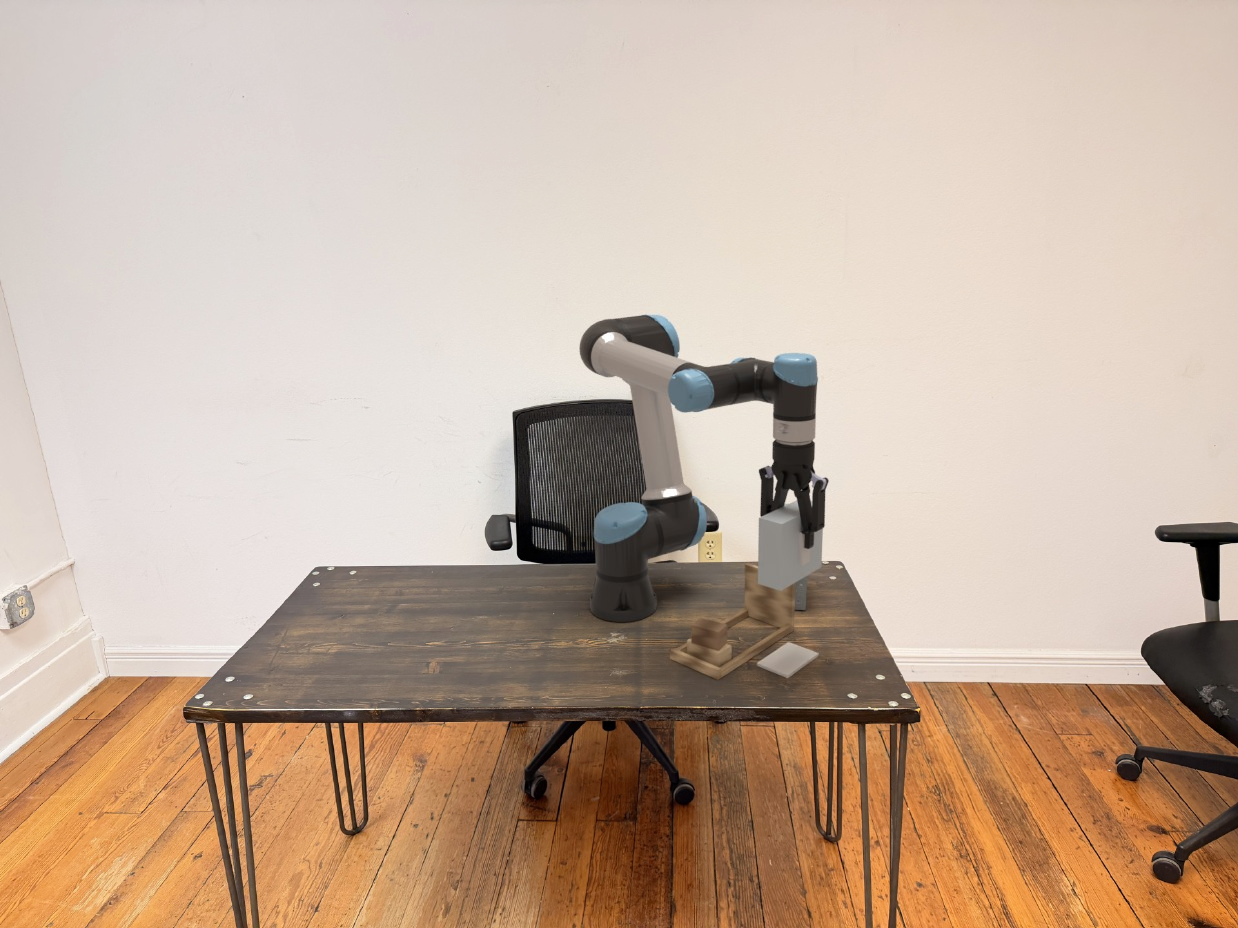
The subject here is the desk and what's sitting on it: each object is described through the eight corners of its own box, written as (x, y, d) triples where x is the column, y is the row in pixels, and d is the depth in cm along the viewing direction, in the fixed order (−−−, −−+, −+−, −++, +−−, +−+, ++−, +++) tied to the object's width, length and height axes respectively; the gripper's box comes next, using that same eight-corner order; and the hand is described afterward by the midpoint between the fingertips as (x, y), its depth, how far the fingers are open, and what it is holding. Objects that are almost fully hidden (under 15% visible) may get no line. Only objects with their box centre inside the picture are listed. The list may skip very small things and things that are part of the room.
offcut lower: (687, 658, 163) (686, 640, 162) (699, 650, 166) (699, 632, 165) (719, 672, 158) (719, 653, 157) (731, 664, 161) (731, 645, 159)
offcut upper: (691, 643, 161) (691, 624, 160) (700, 635, 164) (700, 617, 163) (718, 650, 158) (718, 632, 157) (727, 642, 161) (727, 624, 159)
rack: (670, 658, 163) (669, 603, 160) (747, 613, 181) (747, 562, 177) (718, 679, 155) (718, 622, 151) (793, 629, 172) (795, 577, 169)
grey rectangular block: (757, 583, 152) (758, 517, 149) (799, 560, 162) (800, 498, 158) (780, 590, 149) (782, 523, 145) (821, 567, 158) (823, 503, 155)
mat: (756, 665, 159) (756, 662, 159) (788, 644, 167) (788, 641, 167) (787, 678, 154) (787, 675, 154) (818, 655, 162) (818, 653, 162)
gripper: (740, 436, 152) (739, 553, 158) (827, 452, 139) (822, 578, 146) (763, 428, 157) (762, 542, 163) (849, 443, 144) (844, 565, 151)
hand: (790, 559), depth 155 cm, fingers closed on grey rectangular block, 5 cm apart
